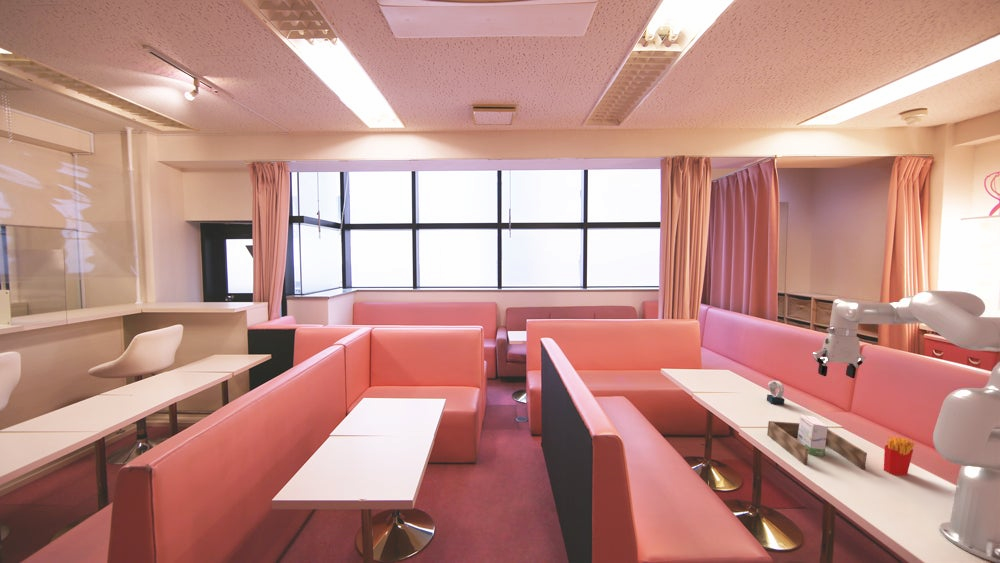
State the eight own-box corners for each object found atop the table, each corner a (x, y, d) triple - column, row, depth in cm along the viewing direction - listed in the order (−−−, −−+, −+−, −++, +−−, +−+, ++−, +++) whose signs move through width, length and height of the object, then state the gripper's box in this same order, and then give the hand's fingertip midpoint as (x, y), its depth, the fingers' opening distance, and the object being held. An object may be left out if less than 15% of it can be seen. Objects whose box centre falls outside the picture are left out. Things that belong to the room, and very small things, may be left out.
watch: (776, 399, 183) (778, 379, 182) (786, 406, 175) (788, 385, 174) (764, 398, 184) (766, 378, 183) (773, 405, 176) (775, 383, 175)
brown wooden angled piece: (864, 469, 125) (867, 453, 125) (803, 464, 127) (805, 448, 126) (819, 438, 145) (821, 424, 144) (767, 435, 147) (768, 421, 146)
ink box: (824, 456, 132) (828, 426, 131) (809, 454, 133) (813, 424, 132) (810, 444, 141) (814, 415, 139) (796, 442, 142) (799, 414, 140)
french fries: (890, 475, 122) (895, 442, 121) (877, 468, 126) (882, 435, 125) (914, 475, 122) (919, 442, 121) (901, 468, 126) (906, 436, 125)
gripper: (825, 333, 131) (818, 378, 133) (877, 336, 129) (870, 381, 131) (809, 328, 138) (804, 370, 140) (859, 330, 136) (852, 374, 138)
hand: (836, 375), depth 135 cm, fingers open, 9 cm apart
